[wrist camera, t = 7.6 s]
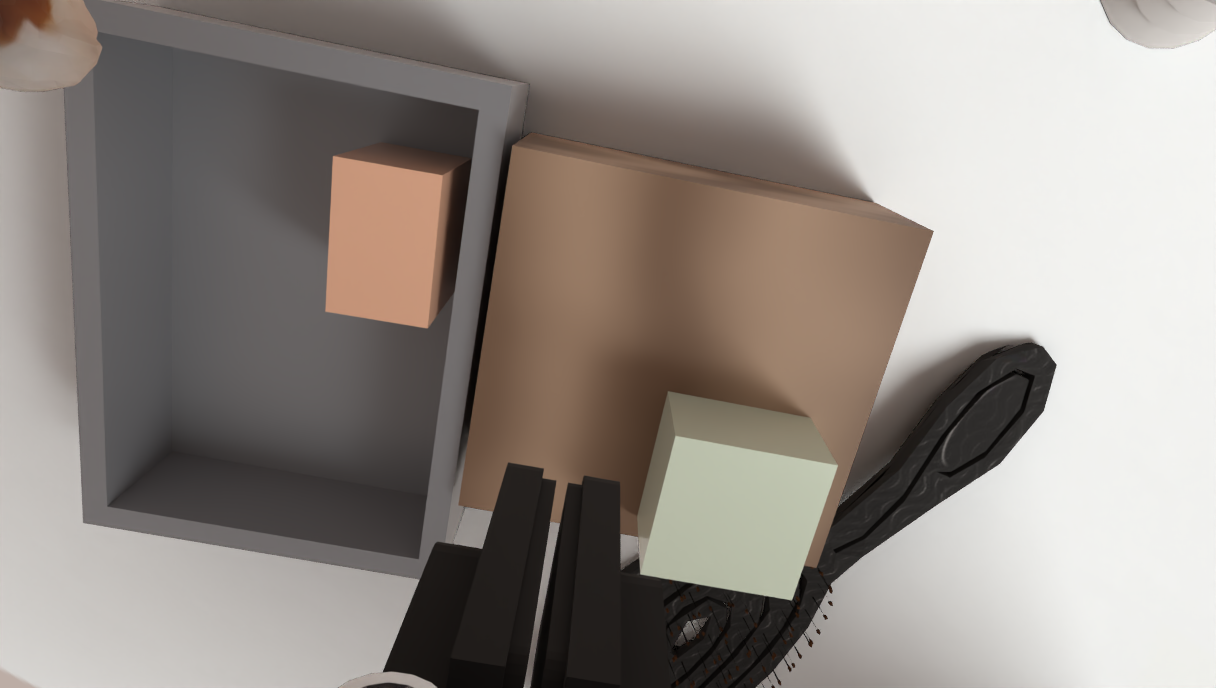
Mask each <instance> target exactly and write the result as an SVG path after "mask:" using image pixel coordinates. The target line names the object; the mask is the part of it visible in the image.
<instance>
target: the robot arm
mask: <svg viewBox="0 0 1216 688" xmlns="http://www.w3.org/2000/svg"><path fill="white" fill-rule="evenodd" d="M543 472H544V468H538V467H533V466H527V465H521V464H515V463H510V462H508V464H507V467H506V470H505V474H504V477H503V481H502V484H501V487H500V491H499V494H498V498H497V501H496V504H495V508H494V511H493V515H492V518H491V521H490V525H489V528H488V532H487V535H486V539H485V542H484V545H483V549H479V548H473V547H467V546H461V545H455V544H449V543H443V542H436V543H435V544H434V546H433V548H432V551H431V553H430V556H429V558H428V561H427V563H426V566H425V568H424V571H423V573H422V576H421V578H420V581H419V583H418V586H417V588H416V590H415V593H414V595H413V598H412V600H411V603H410V605H409V608H408V610H407V613H406V615H405V618H404V620H403V623H402V625H401V628H400V630H399V633H398V635H397V638H396V640H395V643H394V645H393V648H392V650H391V653H390V655H389V658H388V660H387V663H386V665H385V668H384V670H383V673H371V674H368V675H364V676H361V677H358V678H355V679H352V680H349V681H348V682H346V683H344V684H343V685H341V686H339V687H338V688H523V687H524V682H525V676H526V670H527V664H528V659H529V653H530V646H531V640H532V634H533V627H534V621H535V615H536V608H537V602H538V596H539V589H540V583H541V577H542V570H543V564H544V558H545V551H546V545H547V539H548V532H549V526H550V520H551V513H552V507H553V501H554V494H555V488H556V480H551V479H545V478H543ZM531 688H671V685H670V674H669V662H668V650H667V638H666V626H665V615H664V603H663V591H662V584H661V580H660V579H659V578H653V577H647V576H641V575H635V574H629V573H623V572H620V482H619V481H614V480H608V479H602V478H596V477H591V476H585V475H584V477H583V481H582V485H580V484H574V483H568V485H567V490H566V495H565V500H564V506H563V511H562V516H561V521H560V526H559V532H558V537H557V542H556V547H555V552H554V558H553V563H552V568H551V573H550V578H549V584H548V589H547V594H546V599H545V604H544V610H543V615H542V620H541V625H540V631H539V636H538V642H537V648H536V654H535V661H534V667H533V674H532V681H531Z"/></svg>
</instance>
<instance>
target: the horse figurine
mask: <svg viewBox="0 0 1216 688" xmlns="http://www.w3.org/2000/svg"><path fill="white" fill-rule="evenodd" d="M97 34H98V31H97V27H96V23H95V21H94V19H93V18H92V16H91V14H90V13H89V11H88V10H87V8H86V6H85V3H84V1H83V0H0V88H4V89H9V90H15V91H20V92H44V91H49V90H54V89H59V88H65V87H70V86H75V85H76V84H78V83H79V82H81V80H82V79H83V78H84V77H85V76H86V75H87V74H88V73H89V71H90V70H91V69H92V68H93V67H94V66H95V65H96V64H97V61H98V59H99V56H100V53H101V50H102V46H101V44H100V43H99V42H98V41H97V40H96V38H97Z"/></svg>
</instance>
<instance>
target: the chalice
mask: <svg viewBox="0 0 1216 688" xmlns="http://www.w3.org/2000/svg"><path fill="white" fill-rule="evenodd" d="M1101 2H1102V5H1103V7H1104V9H1105V12H1106V14H1107V16H1108V18H1109V21H1110V23H1111V24H1112V25H1113V26H1114V27H1115V28H1116V29H1117V30H1118V31H1119V32H1120V33H1121V34H1122V35H1123V36H1124V37H1125V38H1126V39H1127V40H1129V41H1132V42H1134V43H1137V44H1139V45H1142V46H1144V47H1147V48H1171V49H1173V48H1177V47H1180V46H1183V45H1186V44H1190V43H1193V42H1196V41H1199V40H1201V39H1202V38H1204V37H1206V36H1207V35H1209V34H1210V33H1212V32H1213V31H1215V30H1216V0H1101Z"/></svg>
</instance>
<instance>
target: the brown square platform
mask: <svg viewBox="0 0 1216 688" xmlns="http://www.w3.org/2000/svg"><path fill="white" fill-rule="evenodd" d="M933 232H934V231H932V230H930V229H928V228H926V227H924V226H922V225H920V224H918V223H916V222H914V221H912V220H909V219H907V218H905V217H903V216H901V215H899V214H897V213H895V212H893V211H891V210H889V209H887V208H885V207H883V206H881V205H879V204H877V203H874V202H869V201H864V200H859V199H854V198H849V197H844V196H840V195H835V194H830V193H825V192H820V191H815V190H810V189H805V188H800V187H796V186H791V185H786V184H781V183H776V182H771V181H766V180H761V179H757V178H752V177H747V176H742V175H737V174H732V173H727V172H722V171H718V170H713V169H708V168H703V167H698V166H693V165H688V164H683V163H678V162H674V161H669V160H664V159H659V158H654V157H649V156H644V155H639V154H635V153H630V152H625V151H620V150H615V149H610V148H605V147H600V146H596V145H591V144H586V143H581V142H576V141H571V140H566V139H561V138H557V137H552V136H547V135H542V134H537V133H532V132H531V133H530V134H528V135H527V136H525V137H524V138H523V139H521V140H520V141H518V142H517V143H515V144H514V145H512V151H511V158H510V165H509V171H508V178H507V185H506V191H505V198H504V205H503V211H502V218H501V224H500V231H499V238H498V244H497V251H496V258H495V264H494V271H493V278H492V284H491V291H490V297H489V304H488V311H487V317H486V324H485V331H484V337H483V344H482V351H481V357H480V364H479V370H478V377H477V384H476V390H475V397H474V404H473V410H472V417H471V424H470V430H469V437H468V443H467V450H466V457H465V463H464V470H463V477H462V483H461V490H460V497H459V503H458V505H459V506H464V507H470V508H476V509H481V510H487V511H494V508H495V504H496V501H497V498H498V494H499V491H500V487H501V484H502V481H503V477H504V474H505V470H506V467H507V464H508V462H510V463H515V464H521V465H527V466H533V467H538V468H544V472H543V478H545V479H551V480H556V488H555V494H554V501H553V507H552V513H551V520H550V522H556V523H560V521H561V516H562V511H563V506H564V500H565V495H566V490H567V485H568V483H574V484H580V485H582V481H583V477H584V475H585V476H591V477H596V478H602V479H608V480H614V481H619V482H620V534H625V535H631V536H637V537H638V522H637V515H638V511H639V507H640V503H641V499H642V495H643V491H644V487H645V482H646V478H647V474H648V470H649V466H650V462H651V458H652V454H653V450H654V446H655V442H656V438H657V434H658V429H659V425H660V421H661V417H662V413H663V409H664V405H665V401H666V397H667V393H668V391H669V392H675V393H680V394H686V395H691V396H696V397H702V398H707V399H712V400H718V401H723V402H729V403H734V404H739V405H745V406H750V407H755V408H761V409H766V410H771V411H777V412H782V413H788V414H793V415H798V416H804V417H809V418H811V419H812V421H813V423H814V425H815V426H816V428H817V430H818V432H819V433H820V435H821V437H822V439H823V440H824V442H825V444H826V445H827V447H828V449H829V451H830V452H831V454H832V456H833V458H834V459H835V461H836V463H837V465H838V467H837V470H836V473H835V476H834V479H833V482H832V485H831V488H830V491H829V493H828V496H827V499H826V502H825V505H824V508H823V511H822V514H821V517H820V520H819V523H818V526H817V529H816V532H815V534H814V537H813V540H812V543H811V546H810V549H809V552H808V555H807V558H806V561H805V564H804V566H809V567H815V568H817V565H818V562H819V559H820V556H821V553H822V551H823V548H824V545H825V542H826V539H827V536H828V533H829V530H830V528H831V525H832V522H833V519H834V516H835V513H836V510H837V507H838V505H839V502H840V499H841V496H842V493H843V490H844V487H845V485H846V482H847V479H848V476H849V473H850V470H851V467H852V464H853V462H854V459H855V456H856V453H857V450H858V447H859V444H860V441H861V439H862V436H863V433H864V430H865V427H866V424H867V421H868V418H869V416H870V413H871V410H872V407H873V404H874V401H875V398H876V396H877V393H878V390H879V387H880V384H881V381H882V378H883V375H884V373H885V370H886V367H887V364H888V361H889V358H890V355H891V352H892V350H893V347H894V344H895V341H896V338H897V335H898V332H899V330H900V327H901V324H902V321H903V318H904V315H905V312H906V309H907V307H908V304H909V301H910V298H911V295H912V292H913V289H914V286H915V284H916V281H917V278H918V275H919V272H920V269H921V266H922V263H923V261H924V258H925V255H926V252H927V249H928V246H929V243H930V241H931V238H932V235H933Z"/></svg>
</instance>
